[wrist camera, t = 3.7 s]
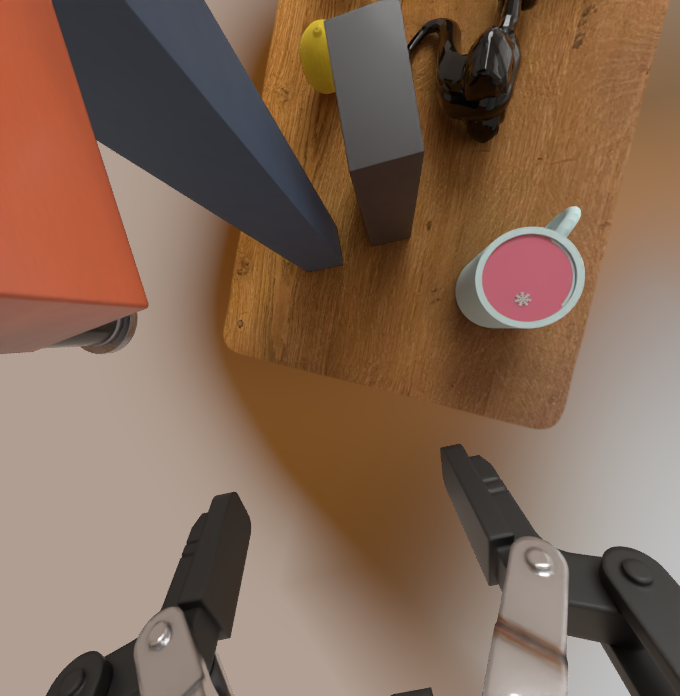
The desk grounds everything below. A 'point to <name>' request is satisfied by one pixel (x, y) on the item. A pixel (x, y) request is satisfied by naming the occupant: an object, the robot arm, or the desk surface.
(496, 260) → the mug
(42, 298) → the bar
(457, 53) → the cat figurine
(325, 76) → the lemon
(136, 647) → the robot arm
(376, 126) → the plinth
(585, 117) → the desk surface
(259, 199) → the dark blue long block
